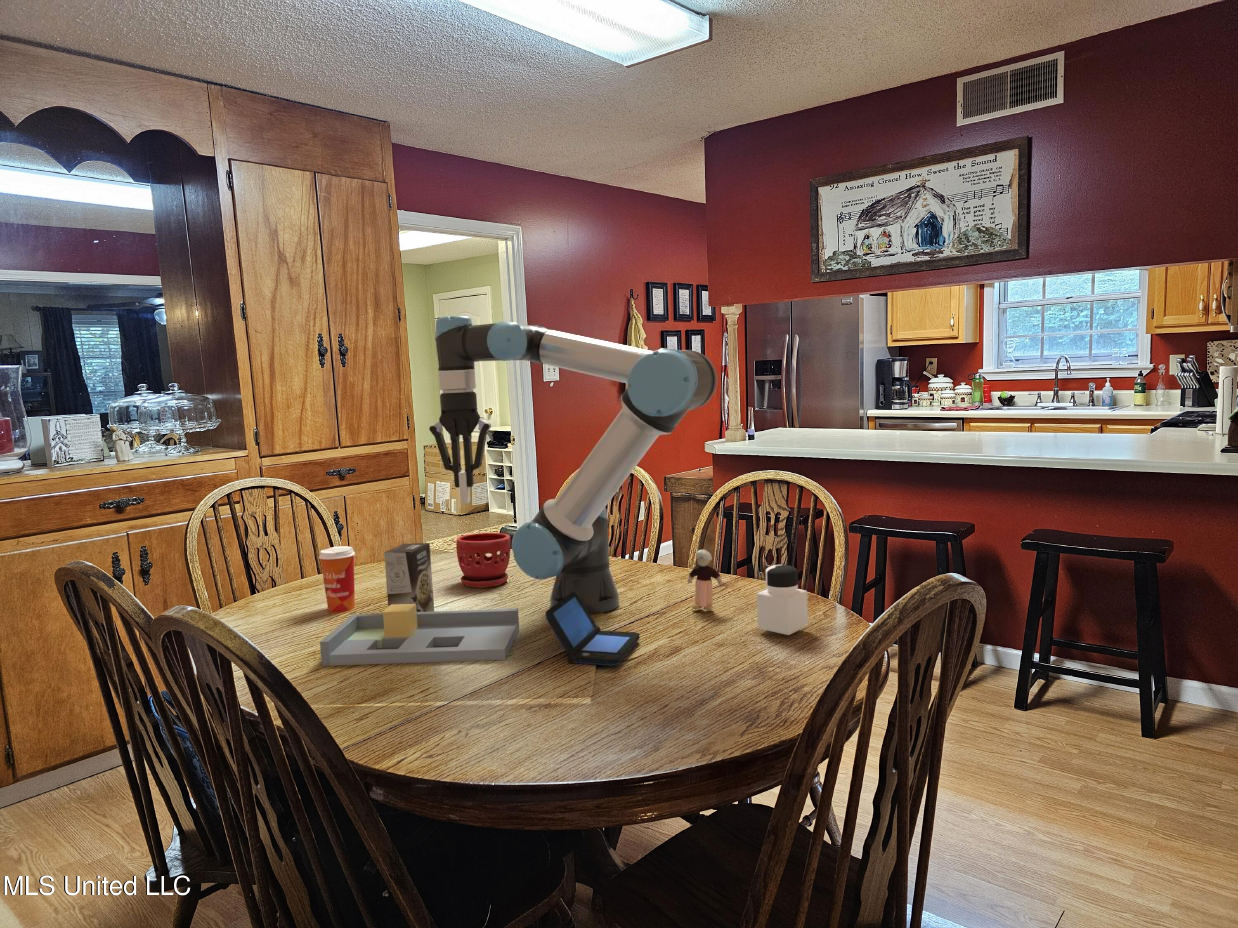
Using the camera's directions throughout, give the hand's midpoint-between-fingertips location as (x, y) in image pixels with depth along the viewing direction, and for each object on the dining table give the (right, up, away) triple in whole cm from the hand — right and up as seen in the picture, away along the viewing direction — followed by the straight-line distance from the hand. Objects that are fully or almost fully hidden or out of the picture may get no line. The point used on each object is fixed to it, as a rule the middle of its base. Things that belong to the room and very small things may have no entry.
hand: (465, 502), depth 171 cm
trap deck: (-4, -27, -18) cm, 32 cm away
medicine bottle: (+64, -24, -15) cm, 70 cm away
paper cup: (-30, -25, +10) cm, 40 cm away
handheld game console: (+28, -26, -23) cm, 45 cm away
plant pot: (0, -22, +28) cm, 35 cm away
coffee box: (-11, -25, -1) cm, 28 cm away
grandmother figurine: (+51, -23, -1) cm, 56 cm away
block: (-12, -22, -15) cm, 30 cm away
